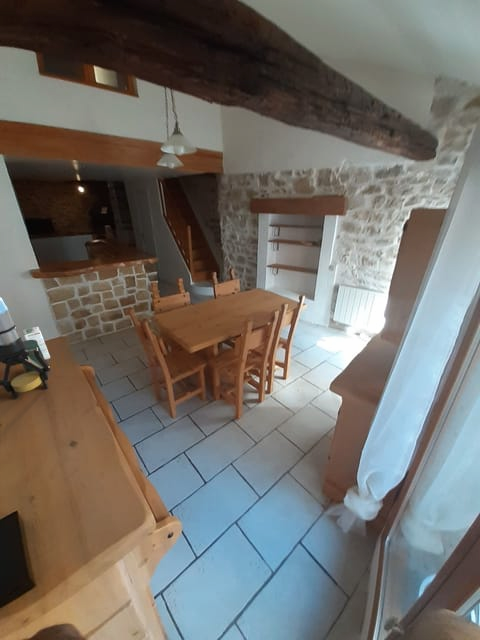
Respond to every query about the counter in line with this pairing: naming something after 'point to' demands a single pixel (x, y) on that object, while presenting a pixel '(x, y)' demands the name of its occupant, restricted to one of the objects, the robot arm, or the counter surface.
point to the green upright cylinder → (31, 345)
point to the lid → (26, 381)
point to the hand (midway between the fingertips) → (32, 391)
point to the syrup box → (37, 339)
